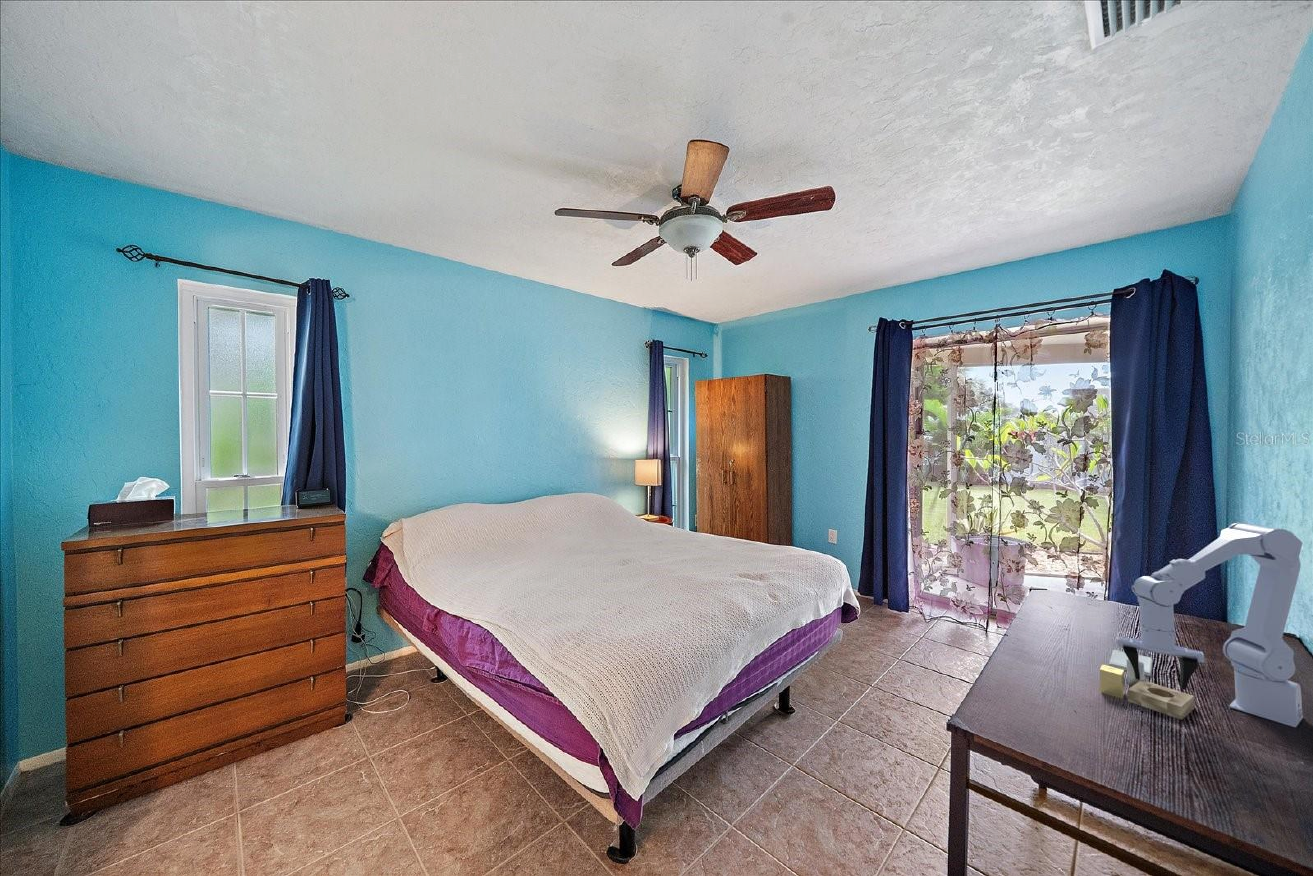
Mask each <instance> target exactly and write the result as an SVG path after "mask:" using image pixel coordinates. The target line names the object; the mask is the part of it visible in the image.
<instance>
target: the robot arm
mask: <svg viewBox="0 0 1313 876" xmlns="http://www.w3.org/2000/svg"><path fill="white" fill-rule="evenodd" d="M1302 547H1303V541H1301V539H1299V538H1298V537H1297V536H1296V535H1295V534H1294V533H1293V532H1292V531H1290V530H1288V529H1284V528H1273V527H1268V526H1261V525H1255V524H1249V523H1248V522H1235V523H1232V524H1230V525H1228V527H1227V528H1224V529H1221V531H1220V536H1219V537H1218V538H1217V539H1215V540H1214V541H1212V542H1211V543H1210V544H1208V545H1207V546H1205V547H1204V548H1202V549H1200V551H1198V552H1197V553H1196V554H1194V555H1193V556H1192V557H1190V558H1189V559H1184V558H1177V559H1172V560H1170V561H1168V562H1169V564H1167V565H1166V566H1164V567H1163V568H1161V569H1159V570H1157V571H1154V572H1153V573H1151V575H1150V576H1149V575H1146V576H1145V575H1144V576H1141V577H1138V578H1137V579H1136V580H1134V582H1133V584H1132V585H1131V590H1132V592H1133V593H1134V595H1136V596H1135V597H1137V602H1138V604H1139V619H1140V621H1139V623H1140V639H1139V638H1130V637H1120V636H1115V637H1116V646H1117V647H1118V648H1123V650H1122V651H1123V652H1125V654H1126V656H1127V657H1128V659H1129V661H1130V663H1131V665H1132V667H1133V669H1134V673H1135V678H1136V679H1138V680H1140V673H1139V665H1138V657H1139V656H1138V655H1139V653H1138V650H1139V651H1144V652H1151V653H1156V654H1159V655H1166V656H1171V657H1176V658H1179V661H1178V662H1179V670H1180V673H1179V674H1180V675H1179V685H1180V688H1181V689H1182V690H1187V689H1188V684H1189V681H1190V679H1191V677H1192V676H1193V674H1194V672H1196V670H1198V668H1199V663H1205V654H1204V653H1203V651H1201V650H1195V649H1191V648H1187V647H1182V646H1179V645H1176V635H1175V634H1176V633H1175V631H1176V630H1175V615H1174V605H1176V604H1178V603H1179V602H1180V600H1181V598H1182V595H1183V594H1184V593H1185V591H1186V590H1188V589H1190V588H1191V587H1193V586H1195V585H1197V584H1198V583H1199V582H1201V581H1203V580H1205V578H1206V571H1208V570H1211V569H1212V568H1214V567H1215V566H1218V565H1220V564H1222V563H1224V562H1226V561H1227V560H1231V559H1232V558H1234V557H1236V556H1237V555H1249V556H1250V557H1251V558H1252V559H1253V560H1254V561H1255V562H1256V563H1257V564H1258V565H1259V570H1258V573H1257V578H1256V582H1255V585H1254V590H1253V593H1252V596H1251V597H1252V598H1251V600H1250V604H1249V607H1248V608H1249V609H1248V612H1247V616H1246V620H1245V623H1244V627H1242V628H1238V629H1236V630H1232V631H1231V633H1230V637H1229V638H1228V639H1227V640H1226V641H1225V642H1224V644H1223V646H1222V651H1223V655H1224V656H1225V657H1226V659H1228V660H1229V661H1230V662H1231V663H1230V664H1231V665H1230V666H1232V667H1233V671H1234V672H1233V673H1234V690H1235V691H1234V692H1235V693H1234V694H1235V699H1234V700H1233V701H1232V702H1231V703H1230V704H1229V708H1231V709H1235V710H1238V711H1241V712H1244V713H1248V714H1251V715H1254V716H1257V717H1261V718H1262V719H1263V718H1264V719H1267V720H1269V721H1273V722H1276V723H1280V724H1283V725H1286V726H1289V727H1292V728H1297V726H1299V724H1300V722H1301V721H1302V720H1303V718H1304V715H1303V713H1304V712H1303V701H1302V689H1301V685H1300V684H1299V683H1297V682H1294V681H1291V680H1289V679H1290V678H1292V677H1293V676H1294V675H1295V672H1296V665H1295V662H1294V656H1295V655H1294V654H1295V652H1294V650H1293V649H1292V648H1291V646H1289V644H1287V643H1286V641H1285V640H1284V639H1283V637H1284V632H1285V628H1286V624H1287V620H1288V616H1289V613H1290V609H1291V605H1292V601H1293V599H1294V595H1295V590H1296V587H1297V583H1298V578H1299V576H1300V575H1299V574H1300V571H1301V568H1302V567H1301V566H1302V565H1301V560H1300V555H1301V550H1302Z"/></svg>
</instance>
